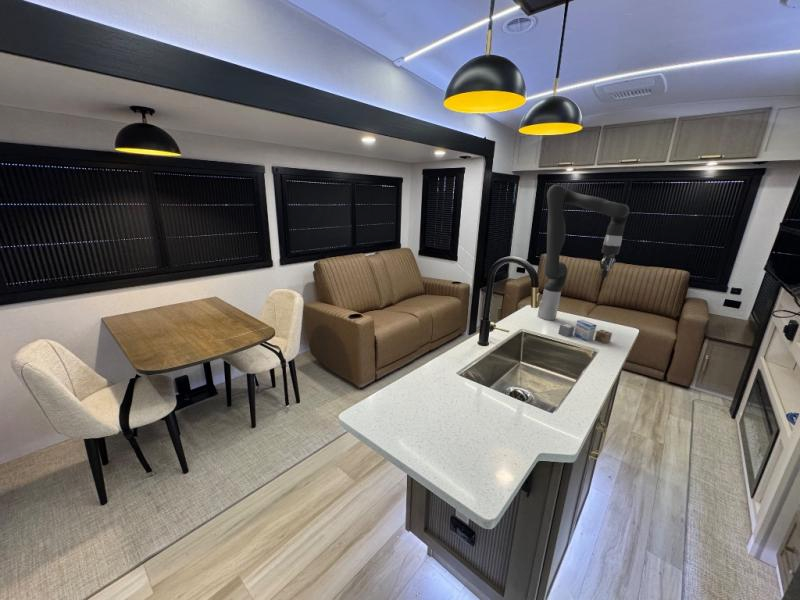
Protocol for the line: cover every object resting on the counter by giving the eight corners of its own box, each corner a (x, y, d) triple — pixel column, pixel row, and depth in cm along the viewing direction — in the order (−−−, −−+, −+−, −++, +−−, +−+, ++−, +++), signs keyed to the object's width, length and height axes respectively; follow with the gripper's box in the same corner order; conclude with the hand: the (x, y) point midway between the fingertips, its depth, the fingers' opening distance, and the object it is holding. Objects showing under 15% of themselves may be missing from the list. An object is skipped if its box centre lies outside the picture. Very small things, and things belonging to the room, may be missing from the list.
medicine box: (573, 335, 166) (576, 320, 163) (578, 334, 168) (582, 319, 165) (587, 341, 159) (591, 325, 157) (593, 340, 161) (596, 324, 158)
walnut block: (594, 340, 161) (596, 330, 160) (599, 338, 164) (601, 329, 163) (604, 344, 158) (607, 334, 156) (609, 342, 160) (612, 332, 159)
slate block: (558, 333, 168) (560, 324, 166) (563, 332, 170) (565, 323, 169) (567, 337, 164) (569, 328, 162) (572, 335, 166) (574, 326, 165)
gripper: (610, 242, 170) (602, 274, 176) (597, 243, 163) (590, 276, 168) (625, 244, 164) (617, 277, 170) (613, 245, 157) (605, 280, 162)
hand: (604, 277), depth 169 cm, fingers closed
